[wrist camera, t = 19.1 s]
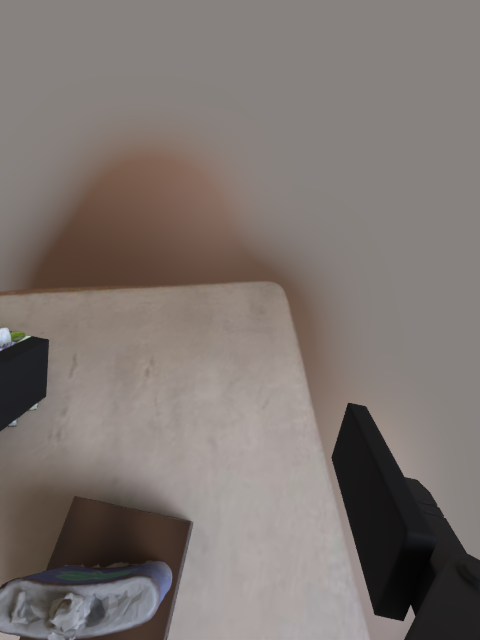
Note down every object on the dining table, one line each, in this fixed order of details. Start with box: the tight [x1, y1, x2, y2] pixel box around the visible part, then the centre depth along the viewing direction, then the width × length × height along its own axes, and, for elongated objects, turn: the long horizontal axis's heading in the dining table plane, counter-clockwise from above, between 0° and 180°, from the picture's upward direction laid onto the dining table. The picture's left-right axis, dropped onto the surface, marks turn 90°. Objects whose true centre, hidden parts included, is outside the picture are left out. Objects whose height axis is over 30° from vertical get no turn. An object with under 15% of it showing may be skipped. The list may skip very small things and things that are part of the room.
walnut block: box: [19, 496, 193, 640], centre depth 30 cm, size 10×10×6 cm
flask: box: [0, 560, 172, 640], centre depth 22 cm, size 9×3×11 cm, turn 91°
